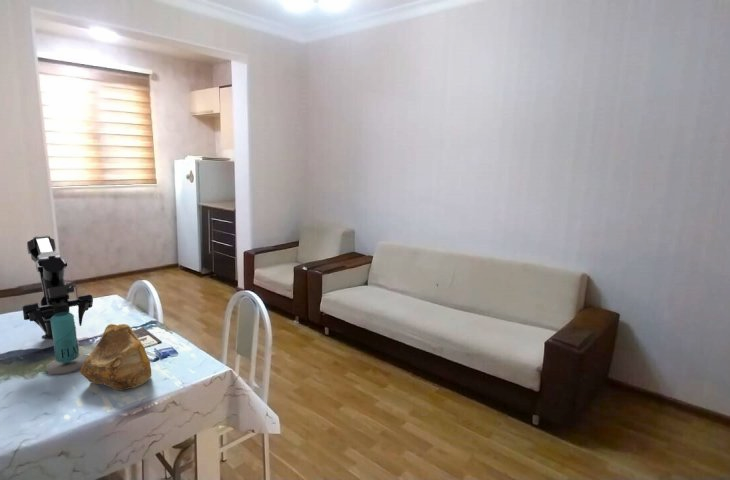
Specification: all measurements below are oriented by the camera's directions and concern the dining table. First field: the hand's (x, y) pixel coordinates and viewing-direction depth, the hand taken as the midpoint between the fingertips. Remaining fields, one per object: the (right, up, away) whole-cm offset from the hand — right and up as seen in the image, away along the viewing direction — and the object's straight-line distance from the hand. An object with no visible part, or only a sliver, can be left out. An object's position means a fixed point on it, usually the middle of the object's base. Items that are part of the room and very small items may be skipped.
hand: (63, 328), depth 136 cm
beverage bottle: (+2, -11, 0) cm, 11 cm away
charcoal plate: (+2, -12, 0) cm, 12 cm away
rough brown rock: (+22, -14, -8) cm, 27 cm away
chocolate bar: (+13, -9, +21) cm, 26 cm away
